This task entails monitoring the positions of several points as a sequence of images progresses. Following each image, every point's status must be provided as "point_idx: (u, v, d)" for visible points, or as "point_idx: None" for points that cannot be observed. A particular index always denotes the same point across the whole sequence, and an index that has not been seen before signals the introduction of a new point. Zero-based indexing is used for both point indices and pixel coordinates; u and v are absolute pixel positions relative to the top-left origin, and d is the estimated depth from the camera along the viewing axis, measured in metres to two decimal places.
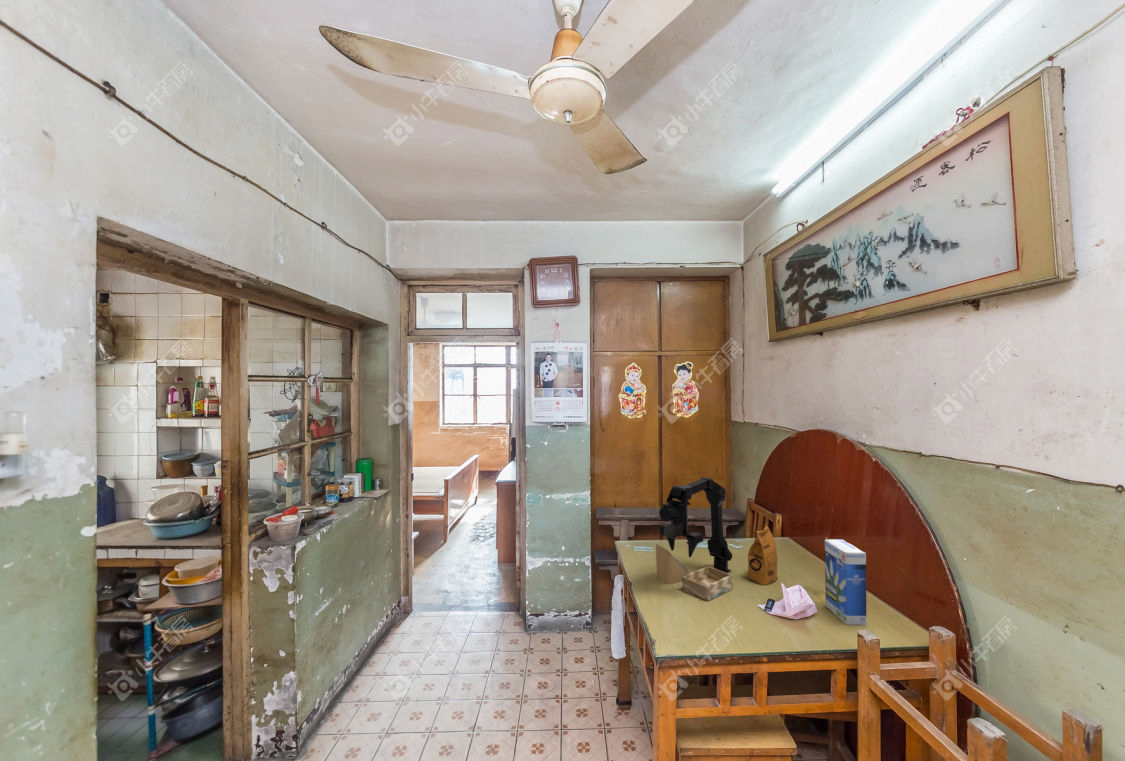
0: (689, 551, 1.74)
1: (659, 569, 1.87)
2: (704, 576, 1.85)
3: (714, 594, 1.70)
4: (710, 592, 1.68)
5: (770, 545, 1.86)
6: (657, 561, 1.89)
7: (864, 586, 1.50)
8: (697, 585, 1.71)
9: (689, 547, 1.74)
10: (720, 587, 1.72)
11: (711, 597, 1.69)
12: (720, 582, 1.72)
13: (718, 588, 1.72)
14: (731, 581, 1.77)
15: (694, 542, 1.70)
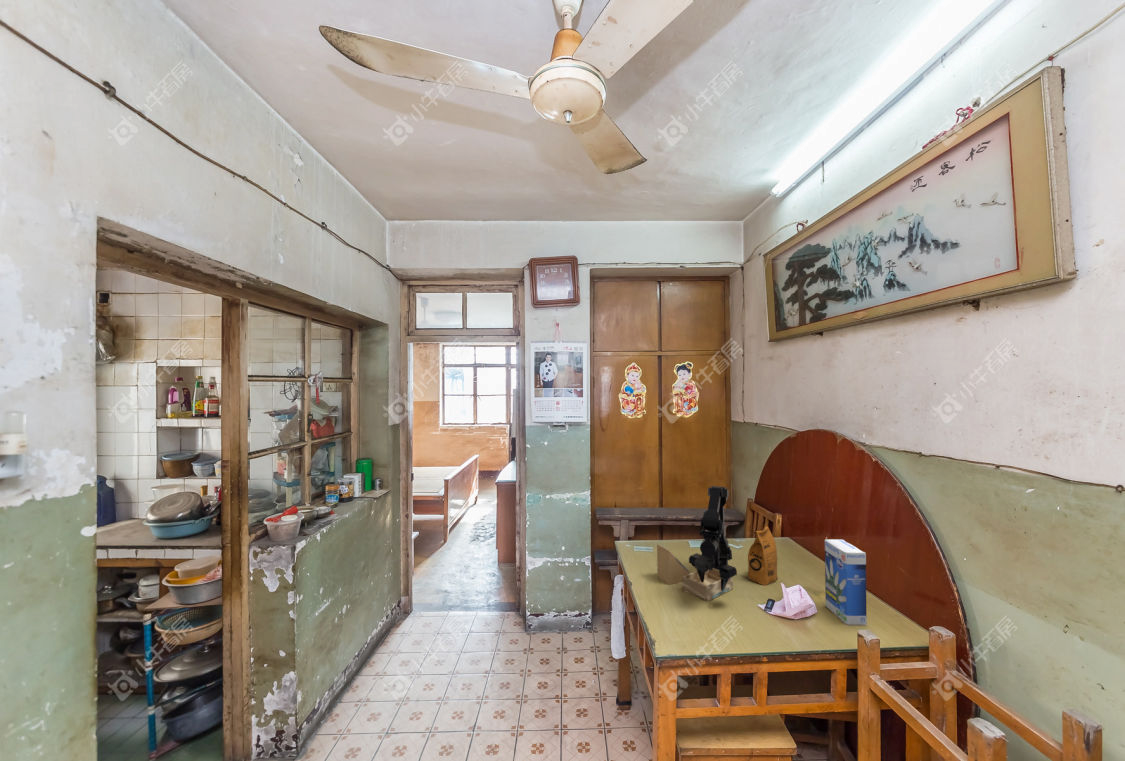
0: (722, 585, 1.65)
1: (660, 569, 1.87)
2: None
3: (714, 594, 1.70)
4: (710, 592, 1.68)
5: (770, 545, 1.86)
6: (658, 561, 1.89)
7: (864, 586, 1.50)
8: (697, 585, 1.71)
9: (722, 581, 1.65)
10: (720, 587, 1.72)
11: (711, 597, 1.69)
12: (720, 582, 1.72)
13: (718, 588, 1.72)
14: (731, 581, 1.77)
15: (728, 576, 1.61)
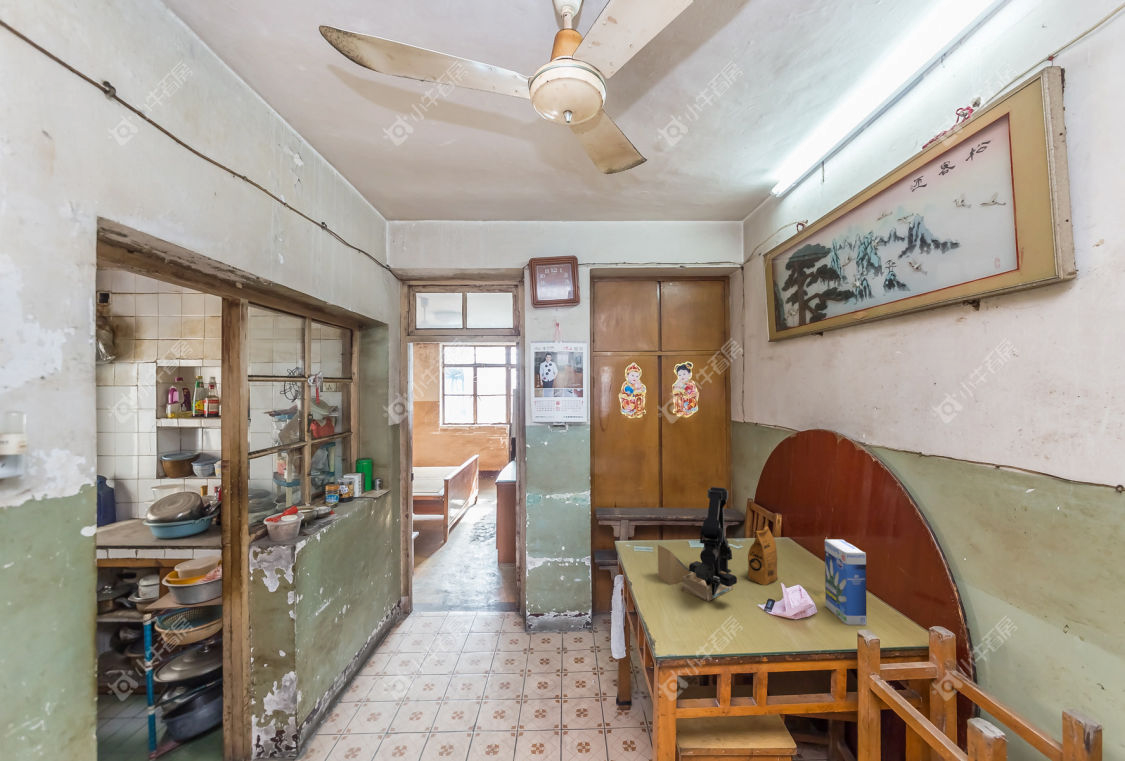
0: (713, 589, 1.68)
1: (661, 569, 1.87)
2: None
3: None
4: (710, 592, 1.68)
5: (770, 545, 1.86)
6: (659, 561, 1.89)
7: (864, 586, 1.50)
8: (697, 585, 1.71)
9: (713, 585, 1.68)
10: (720, 587, 1.72)
11: (711, 597, 1.69)
12: None
13: (718, 588, 1.72)
14: None
15: (728, 585, 1.61)
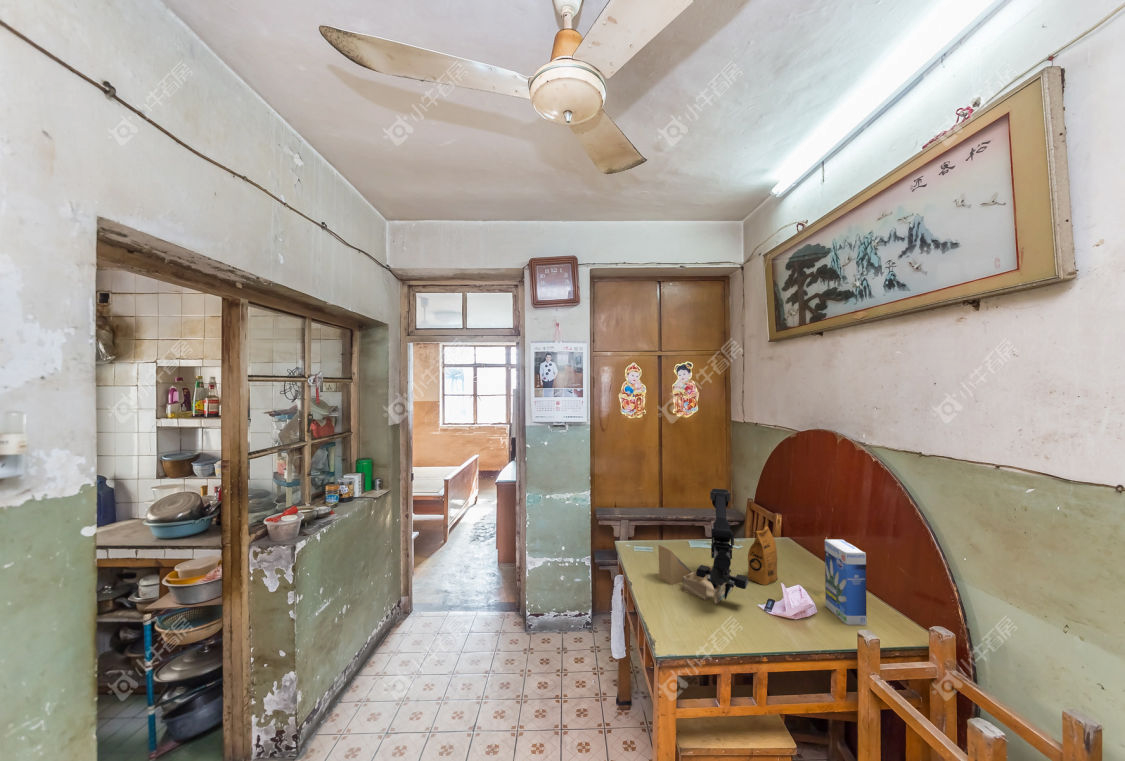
0: (726, 593, 1.65)
1: (662, 569, 1.87)
2: None
3: (720, 596, 1.68)
4: (717, 594, 1.66)
5: (770, 545, 1.86)
6: (660, 561, 1.89)
7: (864, 586, 1.50)
8: (697, 585, 1.71)
9: (726, 589, 1.65)
10: (724, 588, 1.71)
11: (718, 600, 1.66)
12: (724, 583, 1.71)
13: (723, 589, 1.70)
14: None
15: (744, 587, 1.60)
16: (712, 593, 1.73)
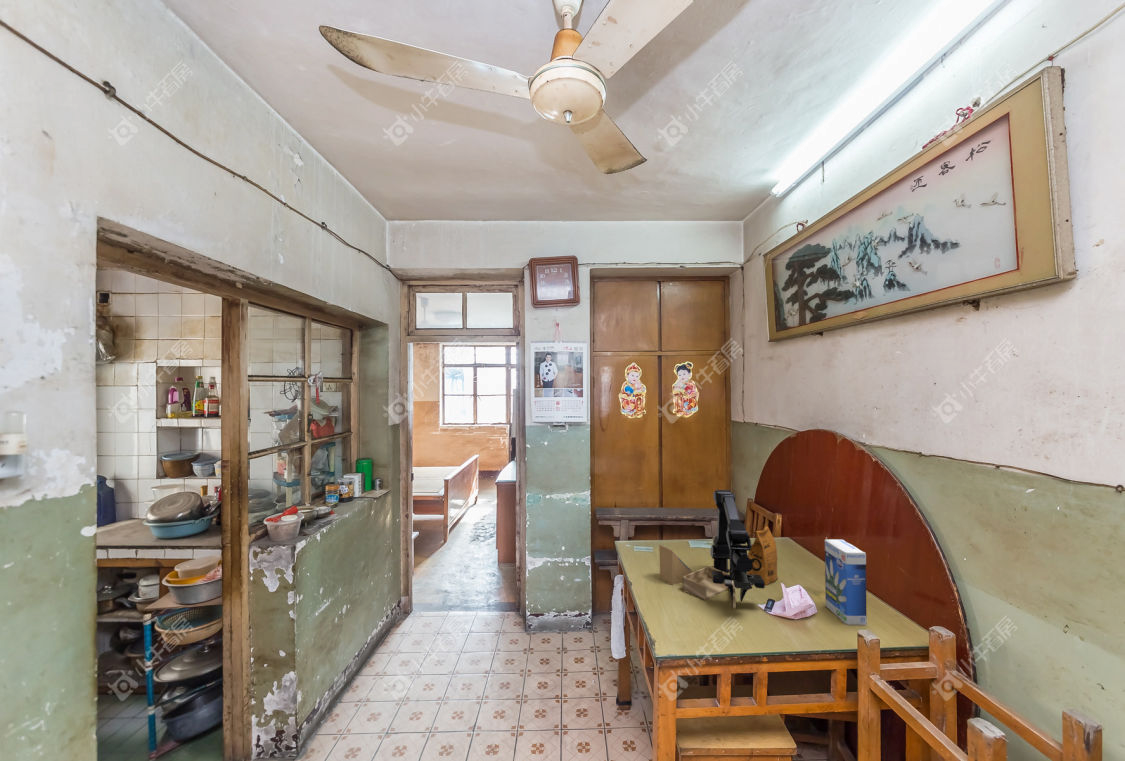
0: (743, 595, 1.63)
1: (663, 569, 1.87)
2: (704, 576, 1.85)
3: None
4: None
5: (770, 545, 1.86)
6: (660, 561, 1.89)
7: (864, 586, 1.50)
8: (697, 585, 1.71)
9: (744, 591, 1.63)
10: None
11: None
12: None
13: None
14: None
15: (764, 586, 1.60)
16: (712, 593, 1.73)
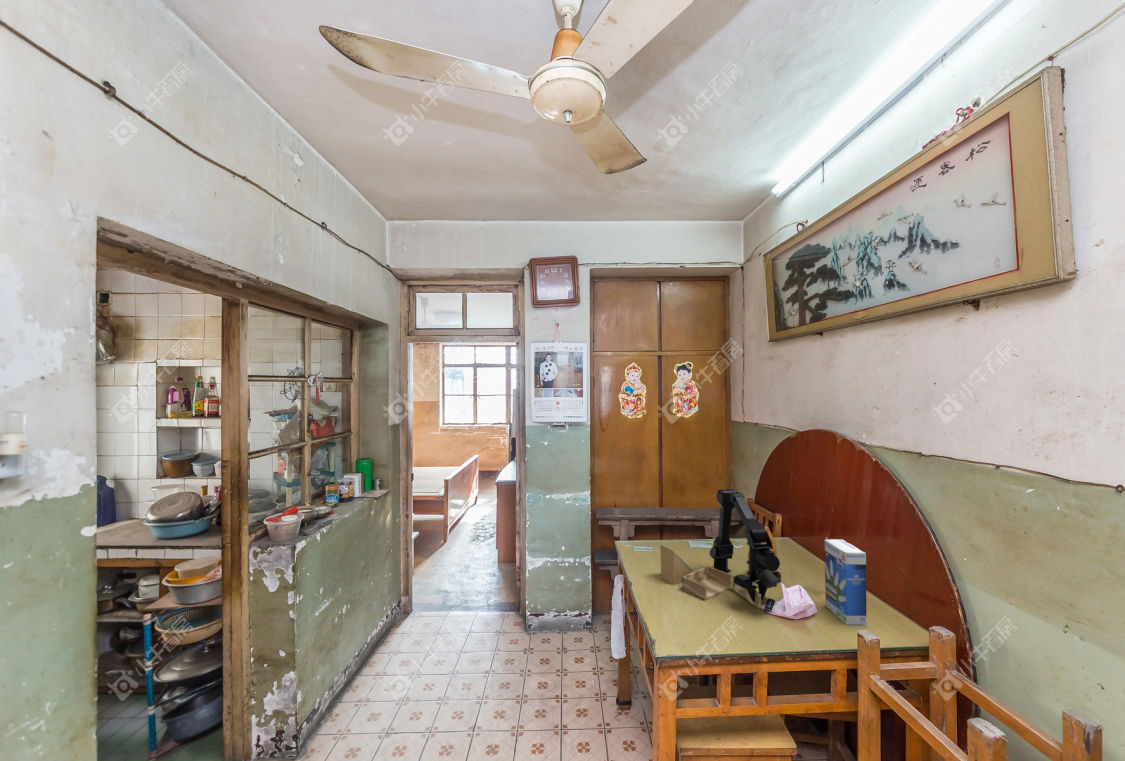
0: (764, 593, 1.65)
1: (664, 569, 1.87)
2: (704, 576, 1.85)
3: None
4: None
5: None
6: (662, 561, 1.88)
7: (864, 586, 1.50)
8: (697, 585, 1.71)
9: (766, 589, 1.65)
10: None
11: None
12: None
13: None
14: None
15: None
16: (712, 593, 1.73)
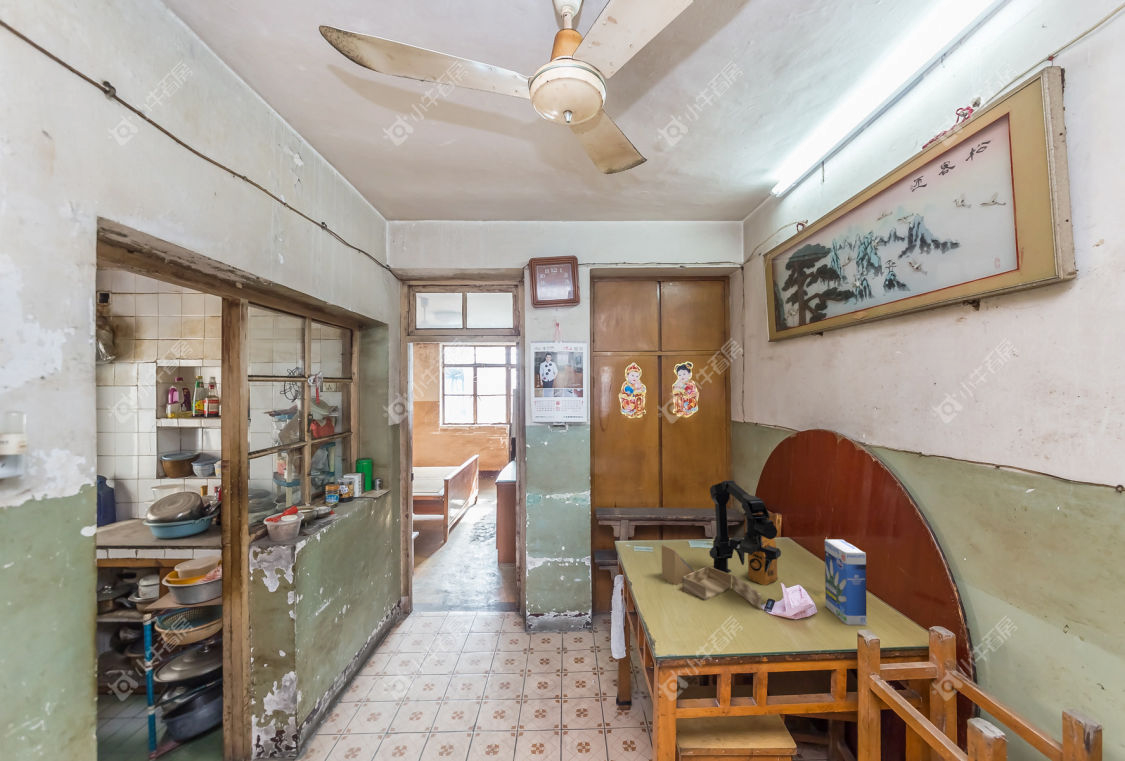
0: (766, 566, 1.66)
1: (666, 569, 1.87)
2: (704, 576, 1.85)
3: None
4: None
5: (770, 545, 1.86)
6: (663, 561, 1.88)
7: (864, 586, 1.50)
8: (697, 585, 1.71)
9: (766, 562, 1.66)
10: None
11: None
12: None
13: None
14: None
15: (774, 557, 1.62)
16: (712, 593, 1.73)
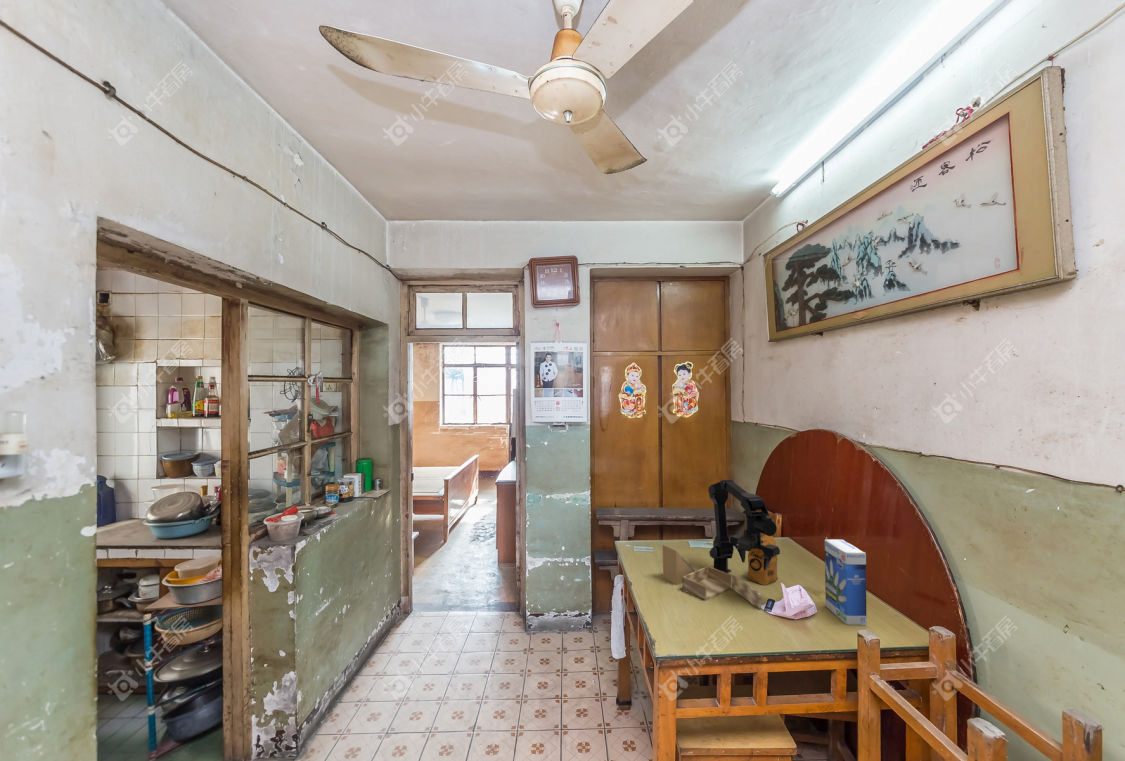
0: (764, 564, 1.67)
1: (667, 569, 1.87)
2: (704, 576, 1.85)
3: None
4: None
5: None
6: (664, 562, 1.88)
7: (864, 586, 1.50)
8: (697, 585, 1.71)
9: (765, 560, 1.67)
10: None
11: None
12: None
13: None
14: None
15: (772, 555, 1.63)
16: (712, 593, 1.73)
